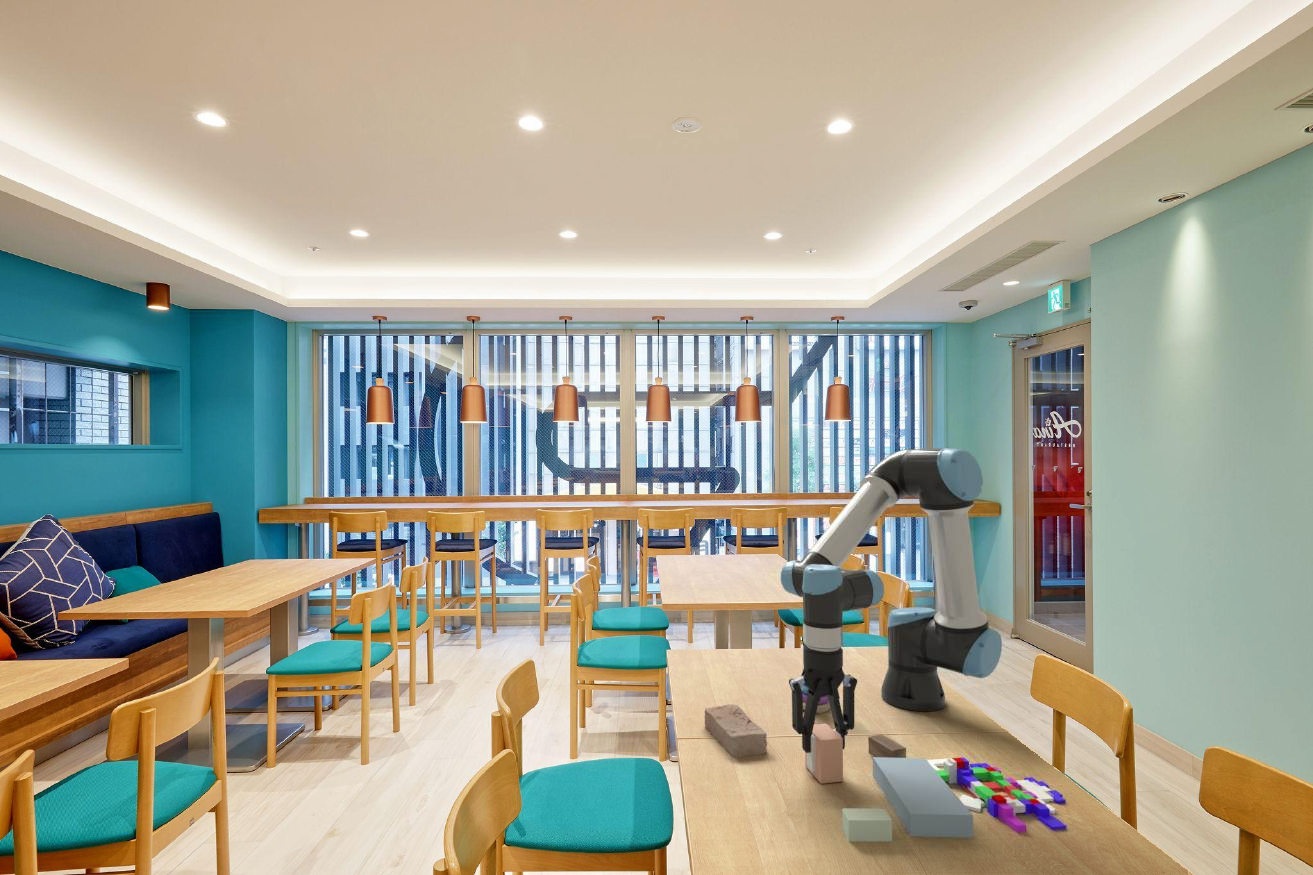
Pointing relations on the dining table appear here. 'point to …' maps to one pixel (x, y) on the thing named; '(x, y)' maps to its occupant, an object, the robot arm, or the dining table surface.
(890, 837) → the sage block
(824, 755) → the terracotta block
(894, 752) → the walnut block
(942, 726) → the dining table surface
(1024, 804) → the building block set
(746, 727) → the brick
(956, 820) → the base block
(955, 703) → the dining table surface
